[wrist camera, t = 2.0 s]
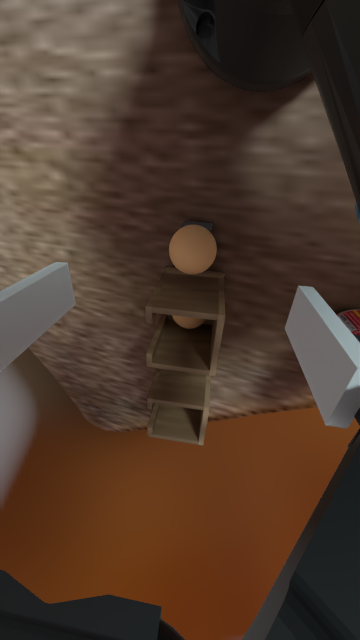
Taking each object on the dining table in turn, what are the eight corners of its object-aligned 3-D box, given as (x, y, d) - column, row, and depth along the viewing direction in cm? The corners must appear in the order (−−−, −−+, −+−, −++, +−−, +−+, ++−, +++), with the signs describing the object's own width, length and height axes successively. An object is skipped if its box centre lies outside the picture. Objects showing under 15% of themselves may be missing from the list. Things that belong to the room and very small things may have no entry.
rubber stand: (185, 220, 27) (180, 227, 24) (212, 223, 27) (211, 230, 23) (184, 247, 29) (179, 258, 25) (209, 250, 29) (208, 261, 25)
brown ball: (174, 219, 24) (165, 227, 20) (219, 222, 23) (220, 232, 19) (172, 263, 26) (164, 278, 22) (214, 267, 25) (213, 283, 22)
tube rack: (166, 266, 30) (145, 302, 22) (224, 272, 30) (226, 311, 21) (163, 383, 41) (147, 438, 32) (206, 389, 40) (202, 447, 31)
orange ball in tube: (175, 284, 30) (169, 299, 27) (210, 288, 30) (209, 304, 26) (173, 315, 33) (167, 333, 29) (206, 319, 32) (205, 337, 28)
